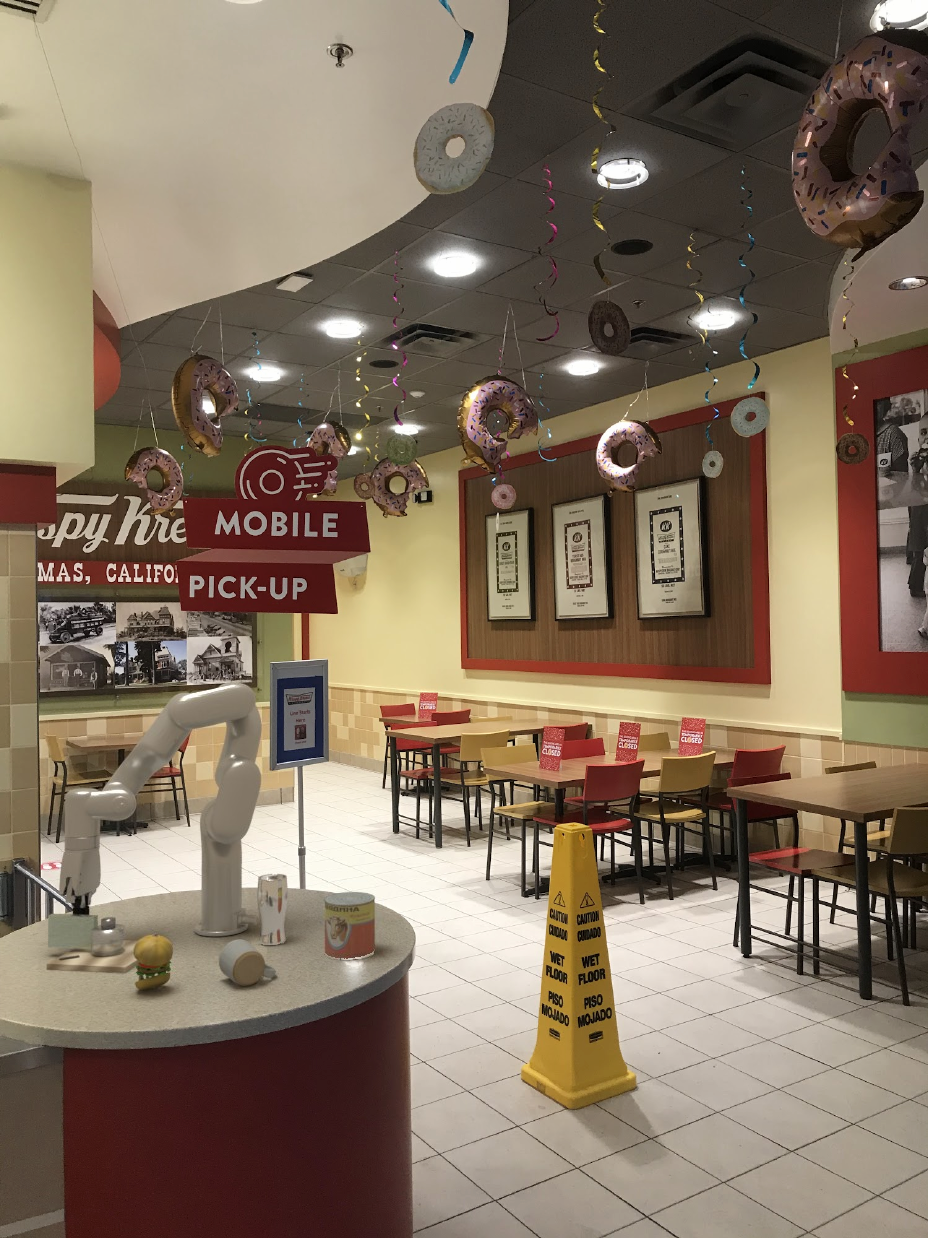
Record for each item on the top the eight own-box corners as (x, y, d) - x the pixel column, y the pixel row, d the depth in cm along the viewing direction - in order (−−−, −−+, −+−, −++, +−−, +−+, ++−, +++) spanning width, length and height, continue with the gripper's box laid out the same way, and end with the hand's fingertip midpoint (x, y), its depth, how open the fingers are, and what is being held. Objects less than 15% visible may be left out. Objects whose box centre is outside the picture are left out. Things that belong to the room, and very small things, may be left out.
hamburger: (162, 981, 194) (163, 922, 194) (180, 990, 188) (180, 929, 189) (126, 991, 188) (126, 929, 189) (143, 1000, 183) (143, 937, 184)
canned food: (314, 956, 209) (314, 901, 210) (342, 942, 219) (342, 890, 220) (358, 963, 204) (357, 906, 205) (384, 948, 214) (384, 895, 215)
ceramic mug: (232, 991, 188) (233, 952, 188) (217, 980, 194) (218, 942, 195) (282, 981, 194) (283, 943, 194) (266, 970, 200) (267, 934, 201)
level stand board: (165, 947, 217) (165, 940, 217) (125, 973, 199) (125, 966, 199) (92, 944, 220) (92, 937, 220) (46, 969, 202) (46, 962, 202)
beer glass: (280, 947, 216) (280, 881, 216) (252, 946, 217) (252, 879, 218) (292, 938, 223) (292, 874, 223) (264, 937, 224) (264, 873, 225)
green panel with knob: (131, 947, 212) (131, 913, 213) (114, 956, 205) (114, 921, 206) (59, 944, 215) (59, 910, 215) (40, 953, 208) (41, 918, 208)
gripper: (85, 837, 226) (83, 915, 225) (48, 849, 211) (46, 932, 210) (114, 837, 225) (113, 916, 224) (79, 850, 210) (77, 934, 209)
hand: (80, 924), depth 217 cm, fingers closed
